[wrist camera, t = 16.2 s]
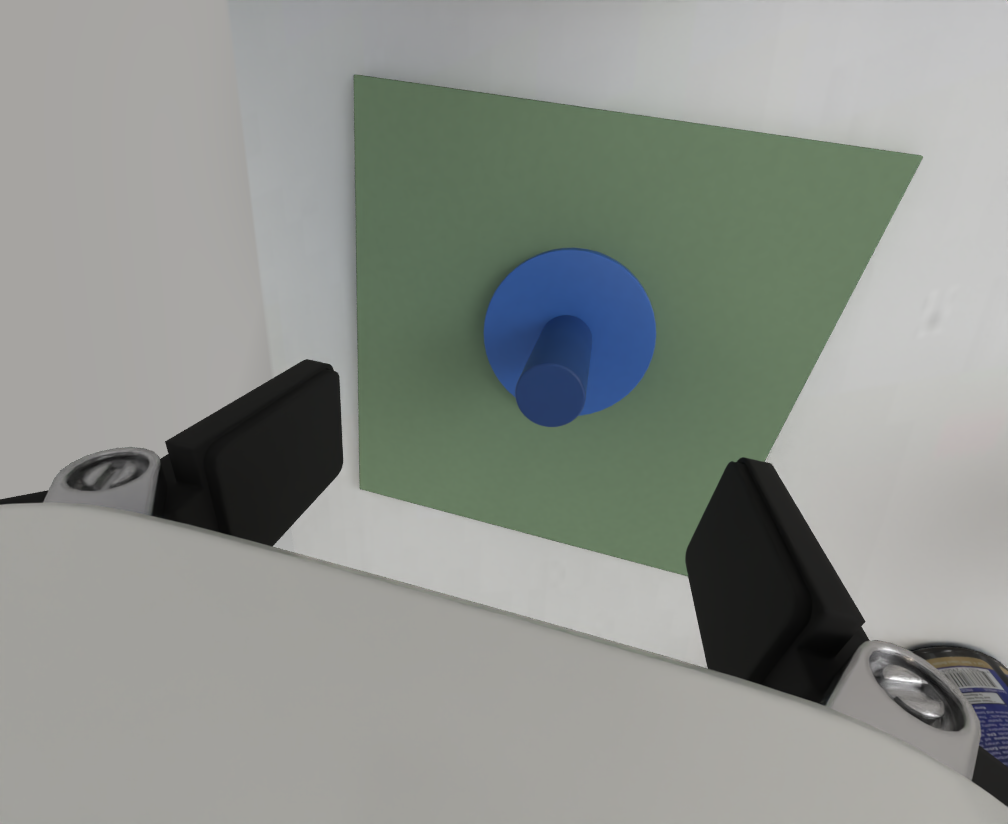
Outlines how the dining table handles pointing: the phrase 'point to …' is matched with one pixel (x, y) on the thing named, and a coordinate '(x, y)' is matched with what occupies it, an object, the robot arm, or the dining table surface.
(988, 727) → the pill bottle
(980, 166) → the dining table surface
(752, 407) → the mat
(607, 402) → the blue peg stand
